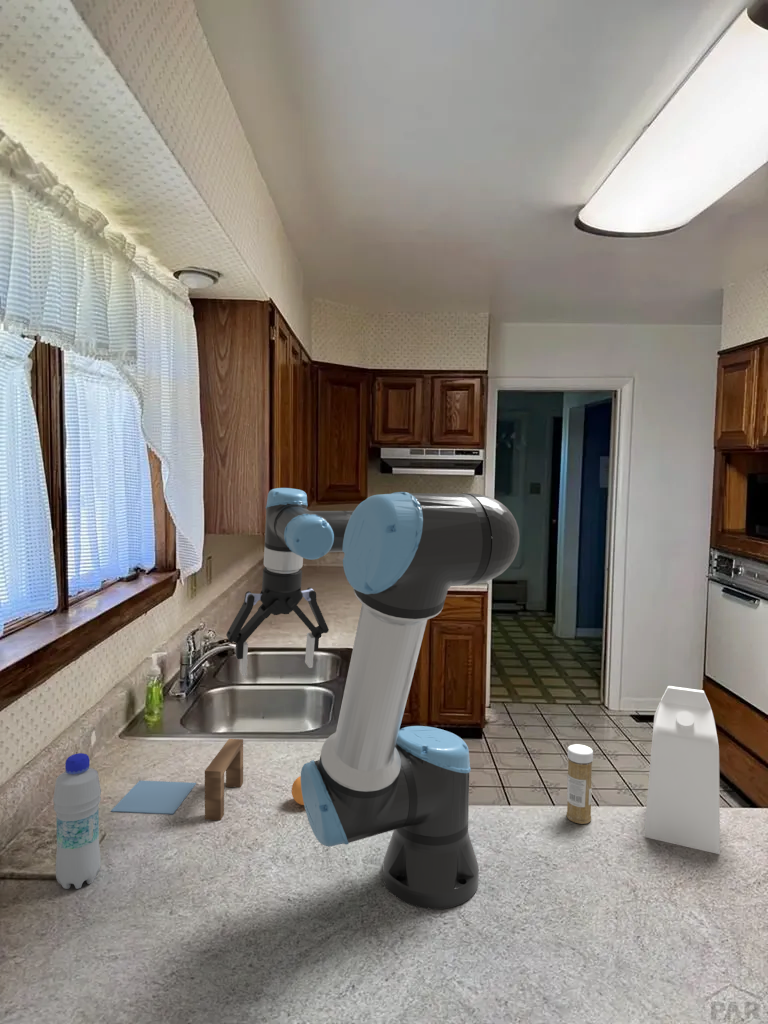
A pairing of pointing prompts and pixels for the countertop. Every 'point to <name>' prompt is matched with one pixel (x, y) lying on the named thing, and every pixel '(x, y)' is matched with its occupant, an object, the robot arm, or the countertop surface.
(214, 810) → the bridge
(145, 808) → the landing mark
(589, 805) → the sprinkles bottle
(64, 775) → the bottle
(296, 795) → the ball
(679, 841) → the milk
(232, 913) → the countertop surface
